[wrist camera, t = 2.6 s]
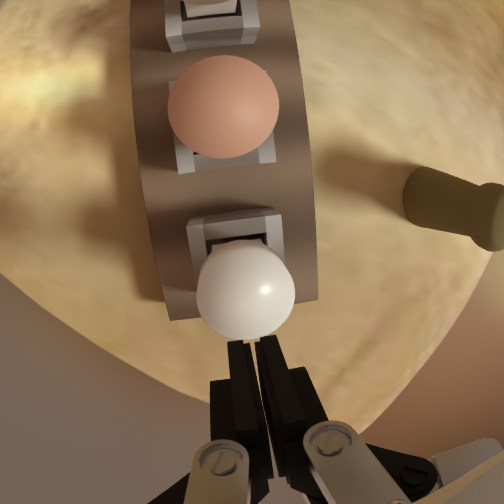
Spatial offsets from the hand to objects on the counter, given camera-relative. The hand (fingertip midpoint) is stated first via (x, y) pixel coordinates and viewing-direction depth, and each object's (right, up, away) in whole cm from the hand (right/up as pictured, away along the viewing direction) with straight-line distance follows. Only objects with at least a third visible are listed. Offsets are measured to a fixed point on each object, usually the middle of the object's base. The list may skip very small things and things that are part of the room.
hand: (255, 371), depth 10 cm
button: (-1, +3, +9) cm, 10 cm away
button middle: (-2, +12, +6) cm, 14 cm away
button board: (-3, +14, +12) cm, 18 cm away
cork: (+17, +10, +16) cm, 25 cm away
